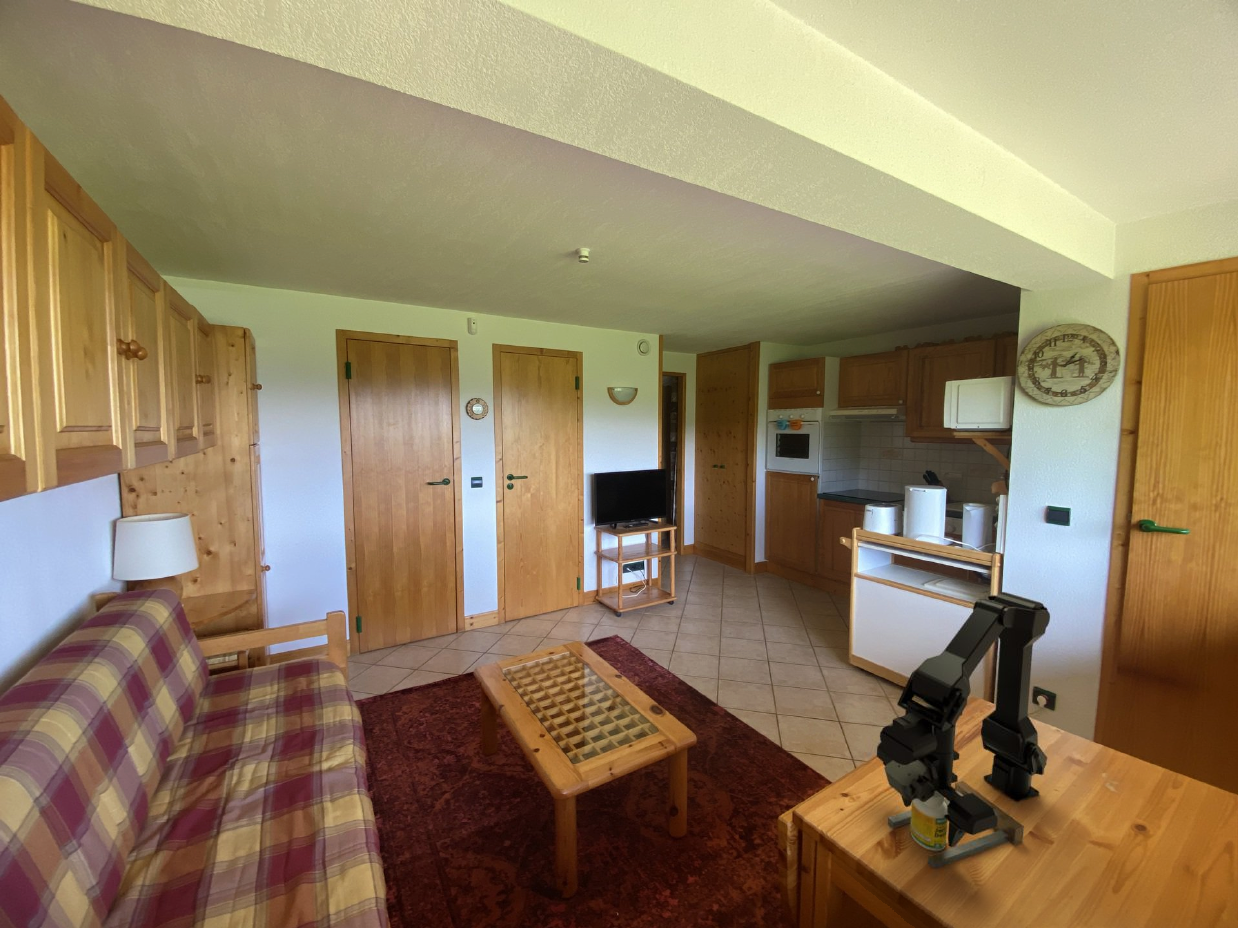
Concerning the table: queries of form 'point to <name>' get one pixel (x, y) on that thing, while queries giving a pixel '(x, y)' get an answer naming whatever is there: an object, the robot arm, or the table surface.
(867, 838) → the table surface
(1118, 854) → the table surface
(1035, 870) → the table surface
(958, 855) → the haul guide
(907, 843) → the table surface
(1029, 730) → the robot arm
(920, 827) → the supplement bottle
